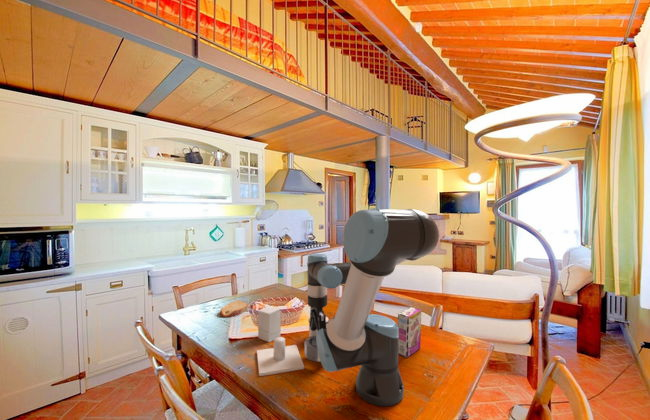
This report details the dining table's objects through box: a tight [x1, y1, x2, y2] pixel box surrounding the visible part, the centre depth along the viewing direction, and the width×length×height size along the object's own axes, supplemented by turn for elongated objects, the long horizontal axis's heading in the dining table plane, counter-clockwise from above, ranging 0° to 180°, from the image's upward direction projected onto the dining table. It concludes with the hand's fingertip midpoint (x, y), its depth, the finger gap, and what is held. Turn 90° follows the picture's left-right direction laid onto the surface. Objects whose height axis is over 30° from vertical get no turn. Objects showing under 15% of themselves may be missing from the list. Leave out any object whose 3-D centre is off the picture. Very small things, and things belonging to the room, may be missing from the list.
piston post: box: [256, 336, 305, 377], centre depth 106 cm, size 16×16×8 cm
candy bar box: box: [397, 306, 422, 359], centre depth 113 cm, size 11×5×16 cm, turn 134°
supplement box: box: [257, 305, 282, 343], centre depth 124 cm, size 7×7×13 cm
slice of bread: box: [219, 300, 248, 319], centre depth 156 cm, size 18×18×4 cm
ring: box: [304, 336, 318, 362], centre depth 105 cm, size 10×10×5 cm
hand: (317, 353), depth 105 cm, fingers closed on ring, 10 cm apart
